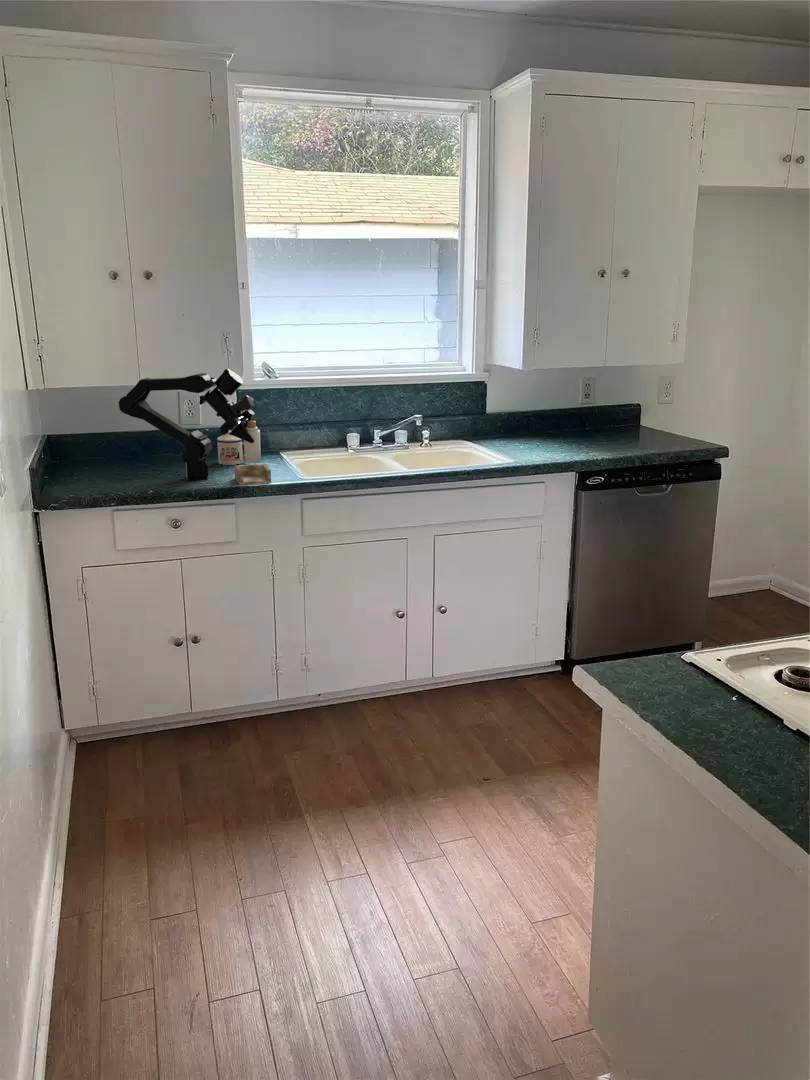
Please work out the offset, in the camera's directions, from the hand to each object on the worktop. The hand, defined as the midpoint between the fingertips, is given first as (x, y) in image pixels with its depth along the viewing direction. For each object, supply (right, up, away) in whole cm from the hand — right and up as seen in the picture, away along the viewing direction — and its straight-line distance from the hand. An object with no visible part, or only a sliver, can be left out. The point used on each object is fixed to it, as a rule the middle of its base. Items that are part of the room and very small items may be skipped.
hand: (256, 440), depth 269 cm
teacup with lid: (-13, -5, +30) cm, 33 cm away
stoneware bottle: (-1, -6, +2) cm, 7 cm away
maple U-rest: (-2, -13, +4) cm, 13 cm away
